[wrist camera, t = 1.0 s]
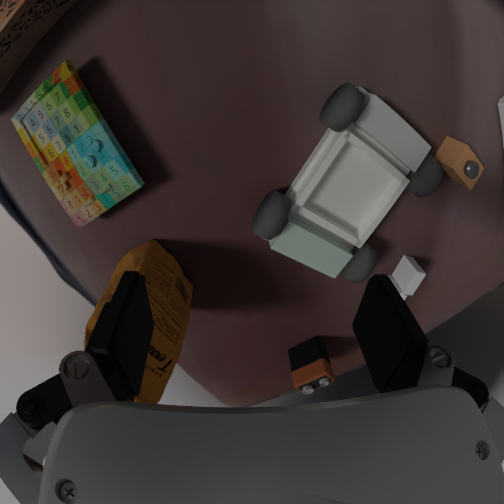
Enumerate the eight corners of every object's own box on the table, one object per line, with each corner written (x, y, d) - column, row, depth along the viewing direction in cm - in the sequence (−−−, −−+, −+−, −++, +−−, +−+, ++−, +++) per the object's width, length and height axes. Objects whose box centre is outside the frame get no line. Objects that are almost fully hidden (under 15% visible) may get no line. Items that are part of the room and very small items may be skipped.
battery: (286, 349, 55) (294, 391, 46) (316, 334, 53) (328, 376, 45) (296, 358, 57) (304, 398, 48) (325, 344, 55) (337, 385, 47)
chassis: (342, 76, 29) (362, 76, 24) (429, 151, 34) (453, 163, 29) (247, 225, 40) (249, 248, 35) (340, 271, 45) (352, 295, 40)
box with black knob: (432, 157, 35) (456, 170, 30) (446, 135, 33) (471, 146, 28) (452, 179, 37) (474, 193, 32) (464, 158, 35) (488, 171, 30)
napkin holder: (366, 315, 52) (376, 337, 47) (346, 280, 47) (357, 302, 42) (429, 277, 48) (444, 295, 43) (419, 235, 43) (436, 253, 38)
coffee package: (155, 310, 47) (129, 425, 29) (111, 257, 41) (54, 371, 23) (203, 291, 46) (192, 417, 27) (160, 230, 39) (111, 356, 21)
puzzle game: (77, 232, 34) (7, 120, 24) (91, 217, 38) (26, 114, 28) (139, 189, 31) (61, 60, 21) (150, 177, 35) (79, 61, 25)
